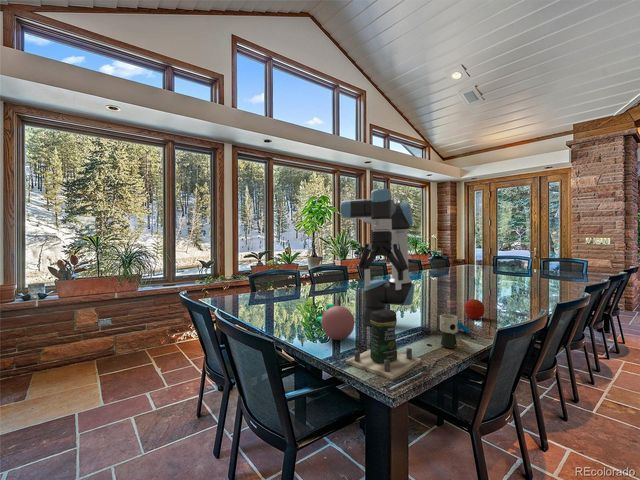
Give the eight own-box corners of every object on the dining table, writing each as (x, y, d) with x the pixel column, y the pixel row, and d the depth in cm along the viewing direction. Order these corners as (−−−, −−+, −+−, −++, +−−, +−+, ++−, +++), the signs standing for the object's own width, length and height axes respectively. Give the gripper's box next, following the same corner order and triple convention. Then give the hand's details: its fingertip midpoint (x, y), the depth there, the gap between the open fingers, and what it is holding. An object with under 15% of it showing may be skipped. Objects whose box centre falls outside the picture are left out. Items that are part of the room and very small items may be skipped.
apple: (488, 320, 173) (488, 299, 173) (469, 320, 173) (469, 300, 173) (479, 316, 183) (479, 296, 183) (461, 316, 183) (461, 296, 183)
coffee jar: (379, 366, 112) (379, 314, 112) (367, 358, 119) (366, 309, 119) (401, 361, 116) (400, 310, 116) (387, 354, 123) (387, 306, 123)
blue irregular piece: (475, 332, 147) (458, 317, 148) (467, 342, 146) (450, 327, 147) (463, 329, 158) (448, 315, 159) (456, 338, 157) (441, 323, 158)
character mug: (449, 352, 127) (449, 320, 127) (434, 347, 133) (433, 316, 133) (463, 346, 134) (463, 315, 134) (448, 341, 140) (447, 312, 140)
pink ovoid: (338, 329, 161) (338, 299, 160) (361, 341, 143) (360, 307, 143) (311, 334, 154) (311, 303, 153) (331, 347, 136) (331, 311, 136)
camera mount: (315, 322, 177) (315, 303, 177) (326, 319, 181) (326, 302, 181) (329, 326, 167) (329, 307, 167) (340, 324, 172) (340, 305, 172)
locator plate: (345, 363, 118) (345, 350, 118) (376, 349, 132) (376, 338, 132) (392, 379, 104) (392, 365, 104) (421, 362, 118) (420, 349, 118)
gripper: (349, 231, 124) (350, 285, 124) (406, 230, 106) (407, 292, 106) (360, 231, 129) (361, 283, 129) (417, 230, 111) (418, 289, 112)
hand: (382, 287), depth 118 cm, fingers open, 13 cm apart
